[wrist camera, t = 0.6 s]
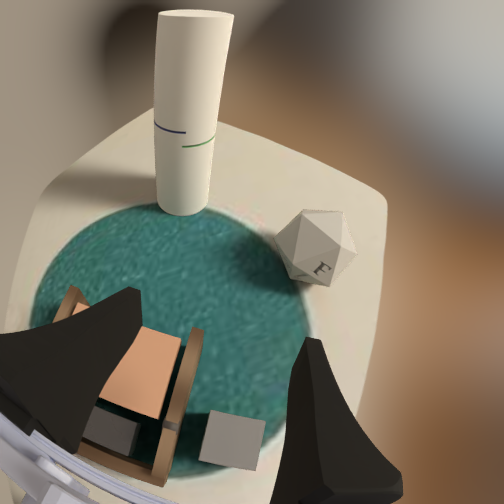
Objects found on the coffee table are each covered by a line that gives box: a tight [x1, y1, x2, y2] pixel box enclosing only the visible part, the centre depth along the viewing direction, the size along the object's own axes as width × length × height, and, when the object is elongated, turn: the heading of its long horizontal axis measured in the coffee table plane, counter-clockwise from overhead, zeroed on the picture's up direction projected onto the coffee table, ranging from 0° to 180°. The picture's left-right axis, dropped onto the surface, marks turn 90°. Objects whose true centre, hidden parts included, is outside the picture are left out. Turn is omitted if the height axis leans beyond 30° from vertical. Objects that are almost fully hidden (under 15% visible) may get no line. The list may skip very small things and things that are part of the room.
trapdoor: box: [72, 302, 181, 456], centre depth 20 cm, size 11×10×2 cm
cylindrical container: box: [154, 10, 234, 216], centre depth 29 cm, size 7×7×25 cm
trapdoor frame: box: [53, 285, 204, 487], centre depth 21 cm, size 14×13×6 cm
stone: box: [198, 410, 266, 471], centre depth 21 cm, size 4×4×4 cm
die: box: [274, 209, 358, 287], centre depth 33 cm, size 8×9×10 cm
